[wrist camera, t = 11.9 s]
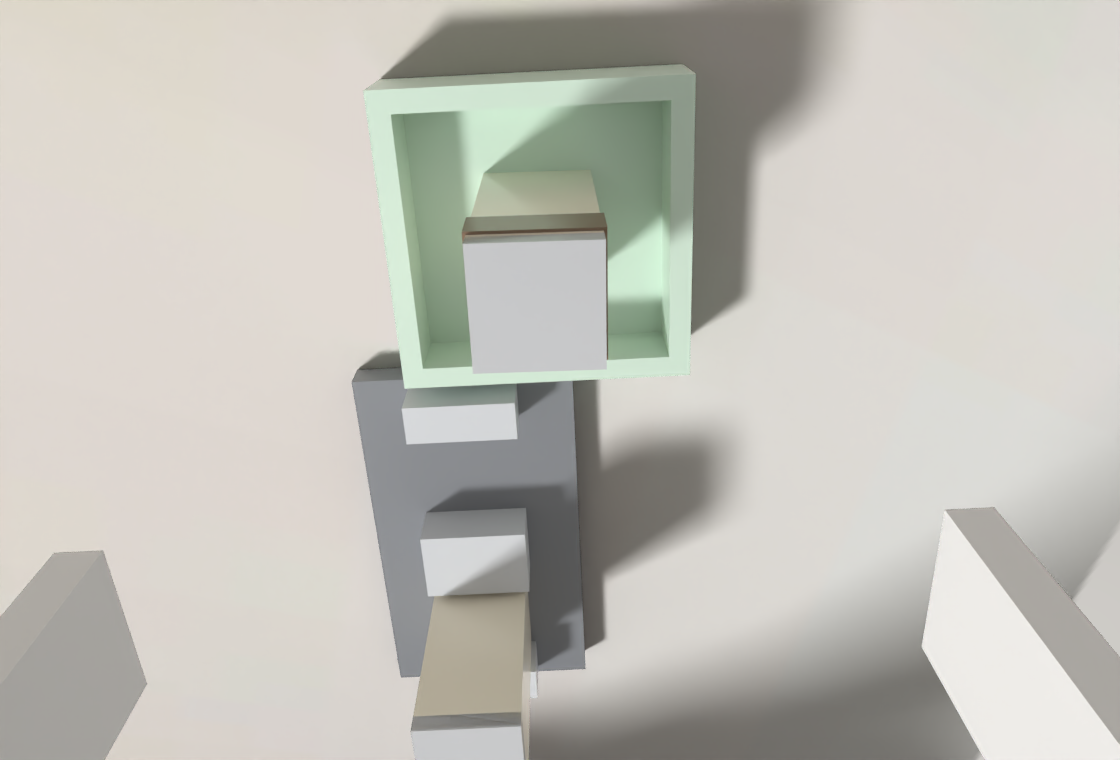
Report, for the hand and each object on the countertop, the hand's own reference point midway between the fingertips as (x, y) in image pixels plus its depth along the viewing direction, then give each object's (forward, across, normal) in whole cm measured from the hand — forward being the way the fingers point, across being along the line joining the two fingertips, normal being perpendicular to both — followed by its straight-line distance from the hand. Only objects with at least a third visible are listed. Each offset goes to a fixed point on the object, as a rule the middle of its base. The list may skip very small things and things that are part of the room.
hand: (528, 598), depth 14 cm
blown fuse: (+22, 0, 0) cm, 22 cm away
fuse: (+21, +3, +18) cm, 28 cm away
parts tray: (+22, 0, 0) cm, 22 cm away
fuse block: (+22, +3, +14) cm, 26 cm away
